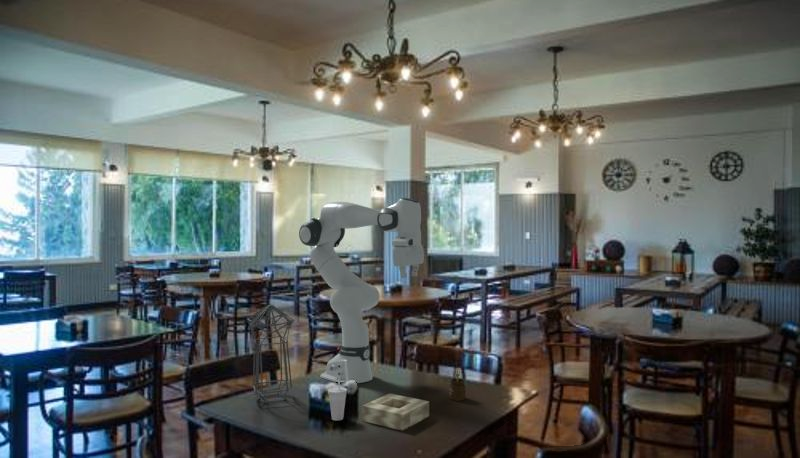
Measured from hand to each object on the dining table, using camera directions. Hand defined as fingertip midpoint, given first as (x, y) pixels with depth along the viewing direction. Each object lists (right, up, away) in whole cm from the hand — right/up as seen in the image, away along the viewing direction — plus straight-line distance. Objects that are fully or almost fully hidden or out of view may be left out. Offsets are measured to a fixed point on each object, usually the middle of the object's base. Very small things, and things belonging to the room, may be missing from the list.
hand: (409, 277), depth 212 cm
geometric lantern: (-51, -45, -6) cm, 68 cm away
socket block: (-5, -45, -27) cm, 52 cm away
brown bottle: (+18, -45, -6) cm, 48 cm away
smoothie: (-24, -45, -27) cm, 58 cm away
